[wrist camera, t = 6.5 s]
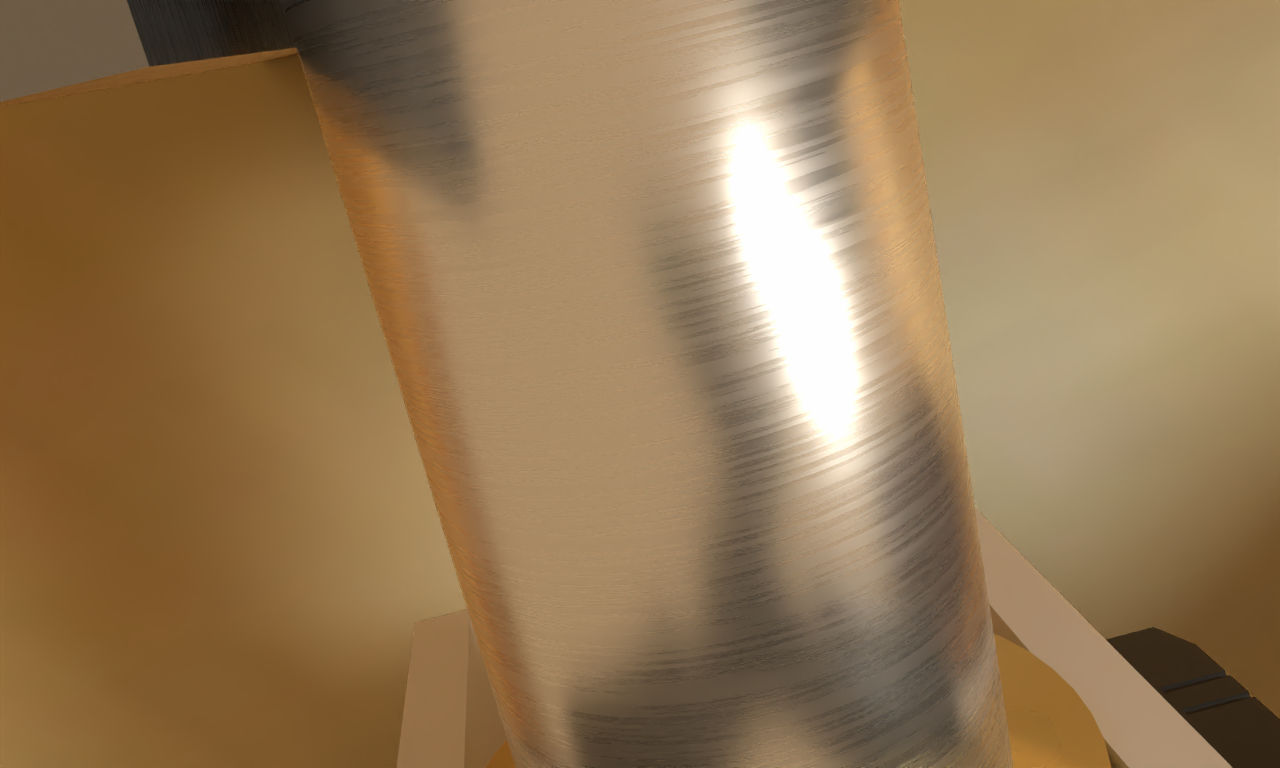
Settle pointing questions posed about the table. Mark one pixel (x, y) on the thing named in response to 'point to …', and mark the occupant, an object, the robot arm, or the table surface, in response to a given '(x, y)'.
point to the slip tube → (682, 378)
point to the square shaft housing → (130, 42)
